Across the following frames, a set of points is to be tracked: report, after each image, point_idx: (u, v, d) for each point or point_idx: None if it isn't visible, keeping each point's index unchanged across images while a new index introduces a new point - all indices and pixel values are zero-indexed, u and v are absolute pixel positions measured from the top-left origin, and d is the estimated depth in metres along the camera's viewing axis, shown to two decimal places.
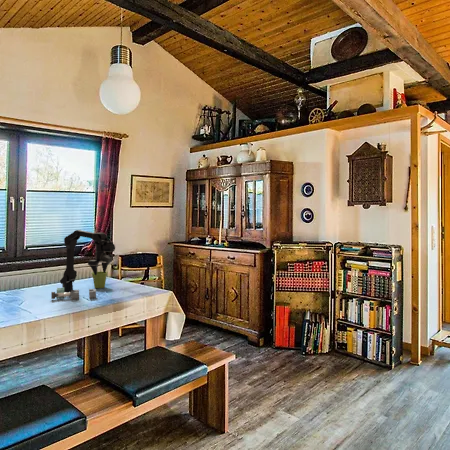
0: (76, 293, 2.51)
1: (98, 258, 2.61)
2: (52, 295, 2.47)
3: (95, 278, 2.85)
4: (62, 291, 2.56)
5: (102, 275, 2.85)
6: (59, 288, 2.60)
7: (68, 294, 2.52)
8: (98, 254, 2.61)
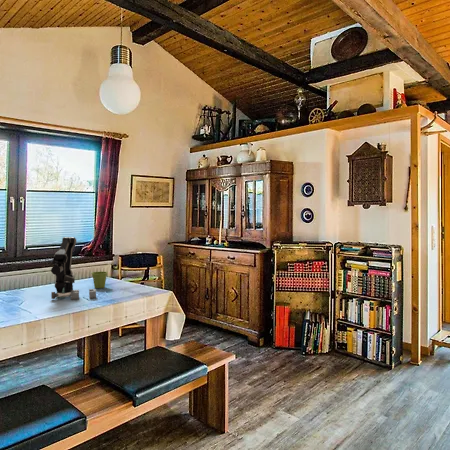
0: (76, 293, 2.51)
1: (61, 279, 2.56)
2: (52, 295, 2.47)
3: (95, 278, 2.85)
4: (62, 291, 2.56)
5: (102, 275, 2.85)
6: None
7: (68, 294, 2.52)
8: (61, 275, 2.56)
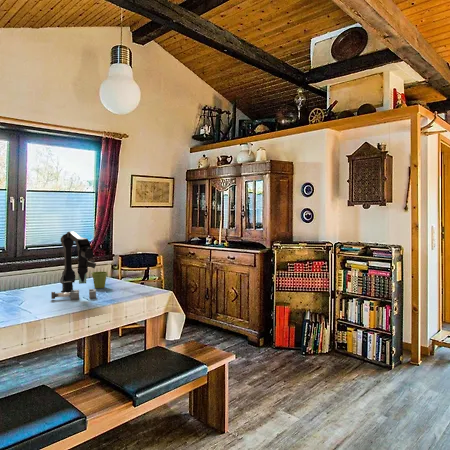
0: (76, 293, 2.51)
1: (83, 265, 2.53)
2: (52, 295, 2.47)
3: (95, 278, 2.85)
4: None
5: (102, 275, 2.85)
6: None
7: (68, 294, 2.52)
8: (83, 260, 2.53)
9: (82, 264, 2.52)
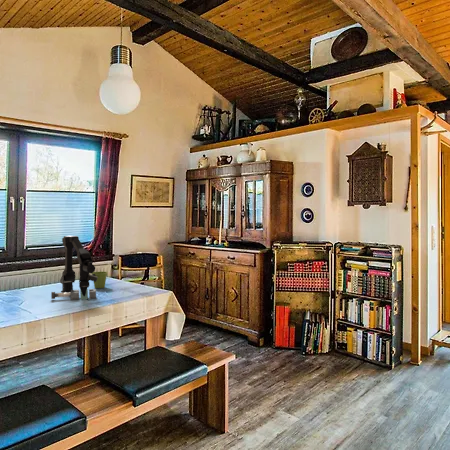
0: (76, 293, 2.51)
1: (85, 278, 2.53)
2: (52, 295, 2.47)
3: None
4: (86, 292, 2.54)
5: (102, 275, 2.85)
6: None
7: (68, 294, 2.52)
8: (85, 274, 2.53)
9: (84, 278, 2.53)
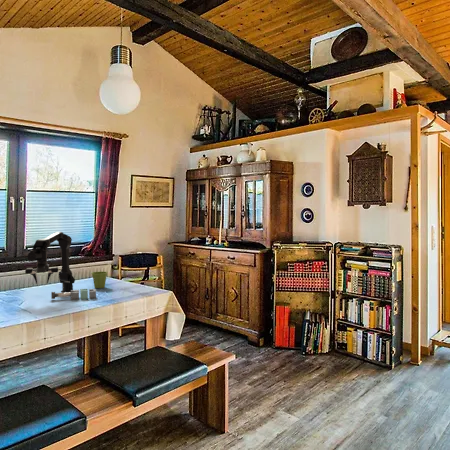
0: (76, 293, 2.51)
1: None
2: (52, 295, 2.47)
3: (95, 278, 2.85)
4: (86, 292, 2.54)
5: (102, 275, 2.85)
6: (82, 289, 2.58)
7: (68, 294, 2.52)
8: (37, 262, 2.44)
9: None
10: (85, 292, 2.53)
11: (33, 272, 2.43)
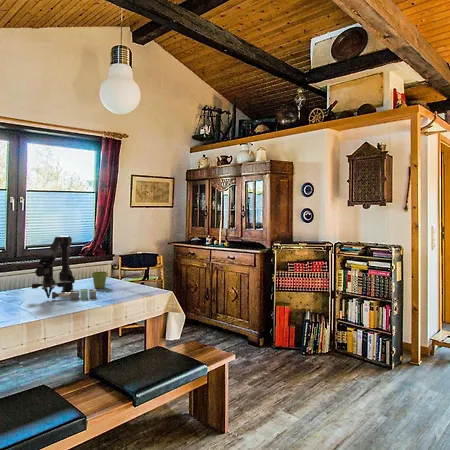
0: (76, 293, 2.51)
1: None
2: (53, 295, 2.47)
3: (95, 278, 2.85)
4: (86, 292, 2.54)
5: (102, 275, 2.85)
6: (82, 289, 2.58)
7: (69, 294, 2.52)
8: (43, 277, 2.46)
9: None
10: (85, 292, 2.53)
11: None
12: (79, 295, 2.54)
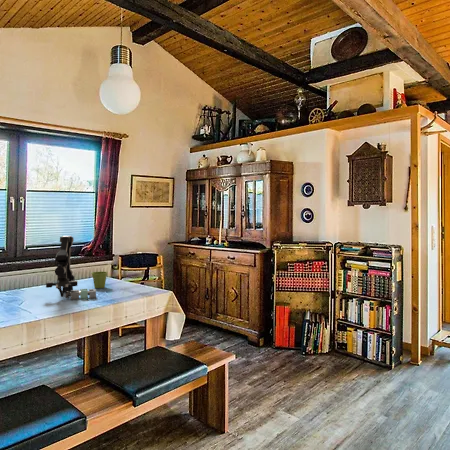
0: (76, 293, 2.51)
1: None
2: (66, 294, 2.50)
3: (95, 278, 2.85)
4: (86, 292, 2.54)
5: (102, 275, 2.85)
6: (82, 289, 2.58)
7: None
8: (57, 276, 2.49)
9: (57, 279, 2.50)
10: (85, 292, 2.53)
11: None
12: None
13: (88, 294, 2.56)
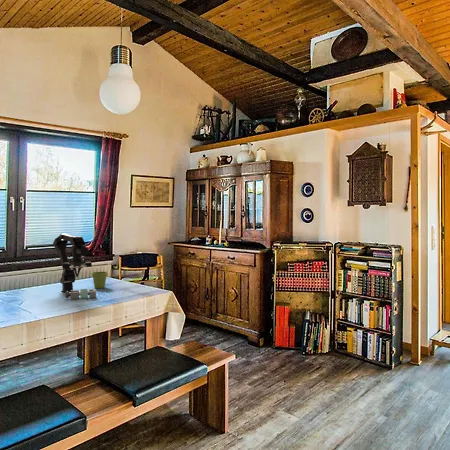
0: (76, 293, 2.51)
1: None
2: (66, 294, 2.50)
3: (95, 278, 2.85)
4: (86, 292, 2.54)
5: (102, 275, 2.85)
6: (82, 289, 2.58)
7: None
8: None
9: None
10: (85, 292, 2.53)
11: (69, 266, 2.61)
12: None
13: (88, 294, 2.56)
